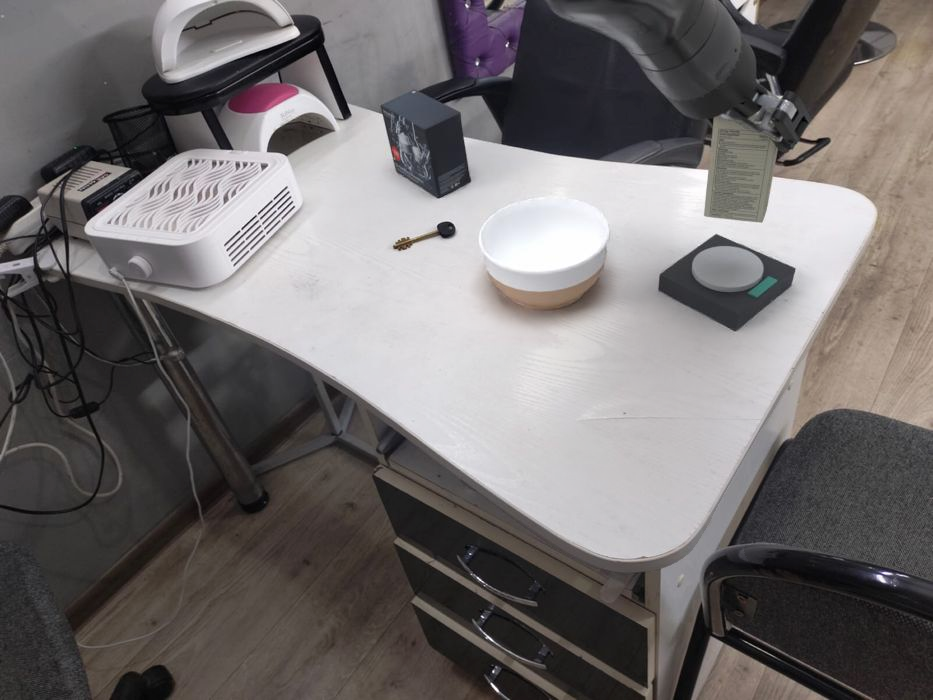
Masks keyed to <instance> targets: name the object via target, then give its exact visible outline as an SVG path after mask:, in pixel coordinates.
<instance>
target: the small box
mask: <svg viewBox="0 0 933 700" xmlns="http://www.w3.org/2000/svg"><path fill="white" fill-rule="evenodd" d="M379 107H380V109H381V110H380V111H381V115H382V118H383V122H384V127H385V131H386V136H387V140H388V144H389V149H390V152H391V156H392V162H393V164H394V165H393V166H394V169H395V172H397V173H398V174H400V175H402V176H403V177H405V178H406V179H408V180H409V181H411V182H412V183H414V184H415V185H417V186H419V187H420V188H422V189H423V190H425V191H426V192H427V193H430V194H431V195H432V196H434V197H435V198H437V199H439V198H442V197H444V196H445V195H447V194H449V193H451V192H454V191H455V190H457V189H459V188H461V187H463V186H464V185H467V184H469V183H471V181H472V179H471V175H470V173H471V172H470V169H469V163H468V162H469V161H468V155H467V149H466V142H465V137H464V130H463V122H462V113H461V111H459V110H457V109H455V108H453V107H451V106H449V105H447V104H445V103H443V102H441V101H439V100H437V99H435V98H433V97H431V96H430V95H427V94H425V93H422V92H420V91H419V90H417V89H415V88H414V89H411V90H409V91H407V92H405V93H402V94H400V95H398V96H396V97H393V98H391V99H389V100H387V101H385V102H383V103H380V106H379Z"/></svg>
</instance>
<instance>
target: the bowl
mask: <svg viewBox="0 0 933 700" xmlns="http://www.w3.org/2000/svg"><path fill="white" fill-rule="evenodd" d="M610 237H611V226H610V223H609V221H608V220H607V218H606V216H605V215H604V214H603V213H602V212H601V211H600V210H599V209H598V208H596V207H595V206H593V205H592V204H588V203H587V202H584V201H581V200H578V199H574V198H568V197H561V196H541V197H534V198H533V197H531V198H528V199H523V200H519V201H517V202H513V203H510V204H508V205H506V206H504V207H502V208H500V209H499V210H497V211H495V212H494V213H493V214H491V215H490V216H489V217H488V218H487V219H486V221H485V222H484V223H483V224H482V226H481V228H480V231H479V233H478V238H477V241H478V246H479V250H480V251H481V253H482V254H483V263H484V266H485V269H486V272H487V274H488V275H487V276H488V277H489V279H490V281H491V282H492V283H493V284H494V286H496V287H497V289H498V290H499V291H500V292H501V293H503V294H504V295H506V296H507V297H509V298H510V299H511V300H512V301H513V302H514V303H515V304H518V305H519V306H522V307H524V308H527V309H531V310H541V311H547V310H549V311H550V310H556V309H561V308H564V307H567V306H569V305H572V304H574V303H575V302H577V301H578V300H579V299H580V298H582V296H583V295H585V293H586V291H588V290H589V289H591V288H592V286H593V285H594V284H595V283H596V282H597V280H598V279H599V277H600V276H601V275H602V272H603V270H604V267H605V262H606V259H607V256H608V255H607V254H608V247H607V246H608V242H609V241H610Z"/></svg>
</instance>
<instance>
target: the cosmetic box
mask: <svg viewBox="0 0 933 700" xmlns="http://www.w3.org/2000/svg"><path fill="white" fill-rule="evenodd" d="M776 96H777V97H778V98H779V99H781V98H782V97H783V95H776ZM758 113H759V112H757V113H756V114H754V115H753V116H751V117H750V118H748V119H749V120H751V121H752V122H753V121H754V120H755V118H756V116H757V114H758ZM768 125H769V127H771V128H772V129H773V128H774V126H775V125H774V124H771V123H770V122H769V123H768ZM778 151H779V149H778V148H777V147H776V145H775V144H774V143H773V141H772V140H771V139H770V138H769V137H768V136H766V135H765V134H763V133H752V132H750V131H748V130H747V129H745V128H743V127H742V126H740V125H739V124H737V123H736V122H734V121H727V120H726V119H724V118H723V117H721V116H720V115H719V116H717V117H714V121H713V129H712V131H711V142H710V151H709V152H710V153H709V159H708V160H709V161H708V171H707V180H706V190H705V198H704V199H705V200H704V210H703V216H704V217H706V218H711V219H712V218H713V219H721V220H730V221H733V220H734V221H741V222H750V223H763V222H764V220H765V217H766V213H767V210H768V207H769V199H770V195H771V190H772V183H773V178H774V173H775V167H776V161H777V155H778Z"/></svg>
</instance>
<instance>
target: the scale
mask: <svg viewBox="0 0 933 700" xmlns="http://www.w3.org/2000/svg"><path fill="white" fill-rule="evenodd" d="M796 269H797V268H796V267H794V266H792V265H790V264H787V263H784V262H782V261H781V260H777V259H775V258H773V257H771V256H768V255H767V254H765V253H763V252H759V251H757V250H754V249H753V248H750V247H748V246H746V245H743V244H741V243H739V242H736V241H734V240H732V239H729V238H727V237H725V236H722V235H720V234H718V233H715V234H714V235H712V236H711V237H709V238H708V239H706V241H704V242H702V243H701V244H700V245H699V246H697V247H696V248H694V249H693V250H691V251H690V252H688V253H687V254H686V255H684V256H683V257H681V258H680V259H679V260H677V261H676V262H674V263H673V264H672V265H670V266H669V267H667V268H666V269H665V270H663V271H661V273H659V276H658V288H657V289H658V292H660V293H661V294H664V295H666V296H668V297H670V298H671V299H674V300H675V301H677V302H679V303H680V304H683V305H685V306H687V307H689V308H690V309H693V310H695V311H696V312H698V313H700V314H702V315H705V316H707V317H708V318H710V319H711V320H713V321H715V322H717V323H719V324H720V325H723V326H725V327H727V328H729V329H731V330H732V331H734V332H736V331H737V330H739V329H741V327H743V326H744V325H745V324H746V323H748V322H749V321H750V320H751V319H752V318H753V317H755V316H756V315H757V314H759V313H760V312H761V311H762V310H763V309H765V308H766V307H767V306H769V304H771V303H772V302H773V301H774V300H776V299H777V298H778V297H779V296H781V295H782V294H783V293H784V292H785V291H787V290H788V289H790V287H792V286H793V281H794V277H795V273H796Z"/></svg>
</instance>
